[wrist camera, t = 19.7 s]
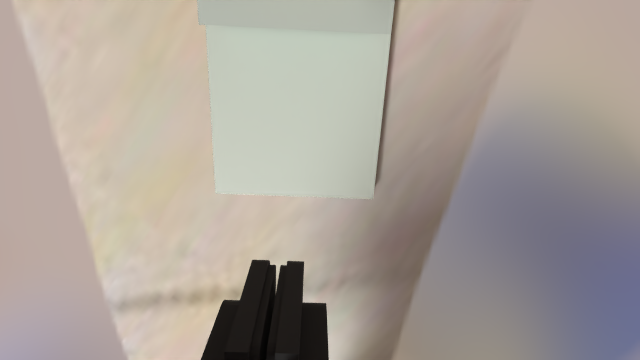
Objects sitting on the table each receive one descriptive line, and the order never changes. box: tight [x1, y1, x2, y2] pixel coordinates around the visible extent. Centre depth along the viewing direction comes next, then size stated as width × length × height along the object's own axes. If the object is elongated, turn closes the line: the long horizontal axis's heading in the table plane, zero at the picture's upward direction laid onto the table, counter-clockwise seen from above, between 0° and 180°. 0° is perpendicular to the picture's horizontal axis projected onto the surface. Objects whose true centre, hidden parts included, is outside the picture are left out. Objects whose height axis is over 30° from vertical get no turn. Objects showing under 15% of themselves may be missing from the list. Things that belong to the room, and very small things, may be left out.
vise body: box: [206, 0, 395, 199], centre depth 23 cm, size 23×12×6 cm, turn 177°
